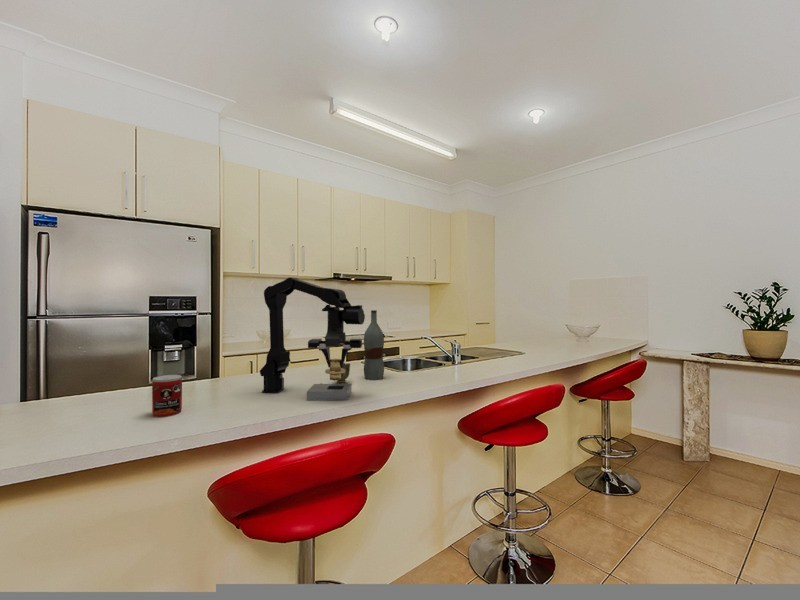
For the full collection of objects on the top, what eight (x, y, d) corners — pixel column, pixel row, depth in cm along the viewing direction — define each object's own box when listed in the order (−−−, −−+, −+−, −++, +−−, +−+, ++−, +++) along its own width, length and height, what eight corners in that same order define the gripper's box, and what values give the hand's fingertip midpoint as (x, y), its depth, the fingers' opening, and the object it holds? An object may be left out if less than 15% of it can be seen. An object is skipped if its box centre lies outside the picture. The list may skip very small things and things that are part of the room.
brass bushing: (323, 381, 131) (323, 361, 131) (327, 377, 138) (327, 358, 138) (344, 381, 131) (344, 361, 131) (346, 377, 138) (346, 358, 138)
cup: (348, 385, 151) (348, 365, 152) (330, 385, 152) (330, 365, 152) (351, 381, 159) (351, 362, 159) (334, 381, 159) (334, 362, 159)
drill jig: (306, 400, 128) (306, 391, 128) (314, 391, 140) (314, 383, 140) (347, 400, 128) (347, 391, 128) (351, 391, 140) (351, 383, 140)
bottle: (362, 376, 169) (362, 310, 169) (381, 375, 171) (381, 310, 171) (365, 380, 160) (365, 310, 160) (386, 379, 162) (386, 310, 162)
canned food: (150, 418, 108) (150, 380, 108) (153, 411, 115) (154, 376, 115) (181, 415, 112) (181, 378, 112) (182, 408, 119) (182, 373, 119)
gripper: (304, 325, 126) (304, 371, 126) (359, 325, 126) (359, 371, 126) (311, 323, 137) (311, 365, 137) (362, 323, 138) (362, 365, 138)
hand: (335, 367), depth 134 cm, fingers closed on brass bushing, 4 cm apart
